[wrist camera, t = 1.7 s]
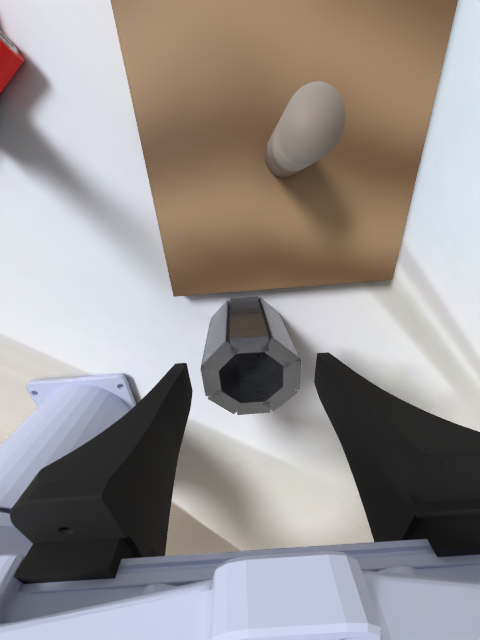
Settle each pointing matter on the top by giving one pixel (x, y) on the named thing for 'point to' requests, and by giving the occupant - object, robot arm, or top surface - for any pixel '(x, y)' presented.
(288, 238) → the post board
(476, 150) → the top surface
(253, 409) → the collar
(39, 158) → the top surface
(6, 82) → the tow hook
